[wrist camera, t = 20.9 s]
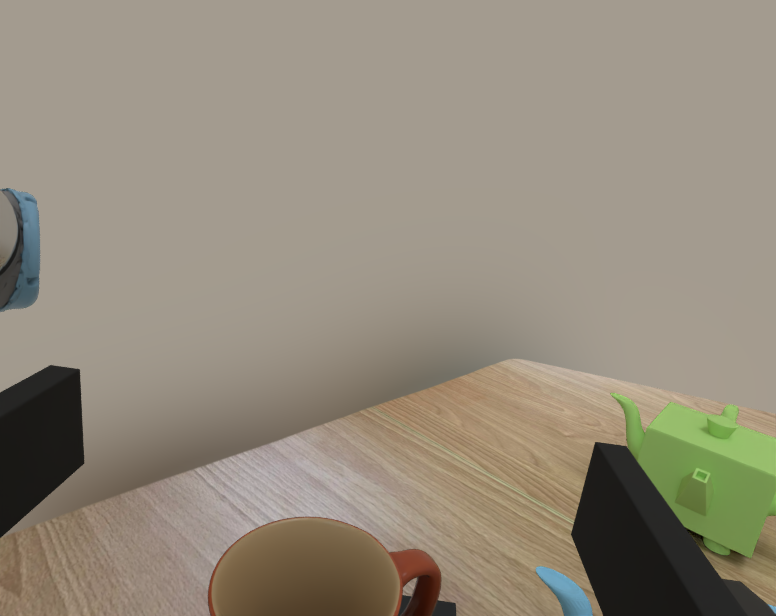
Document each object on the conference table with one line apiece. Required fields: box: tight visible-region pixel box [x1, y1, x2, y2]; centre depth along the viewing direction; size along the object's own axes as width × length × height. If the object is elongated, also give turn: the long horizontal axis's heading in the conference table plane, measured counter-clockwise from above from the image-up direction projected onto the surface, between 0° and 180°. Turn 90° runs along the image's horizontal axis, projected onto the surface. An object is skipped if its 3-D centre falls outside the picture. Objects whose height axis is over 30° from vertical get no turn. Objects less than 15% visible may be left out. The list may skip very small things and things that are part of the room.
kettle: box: [610, 393, 776, 558], centre depth 51 cm, size 15×14×11 cm
